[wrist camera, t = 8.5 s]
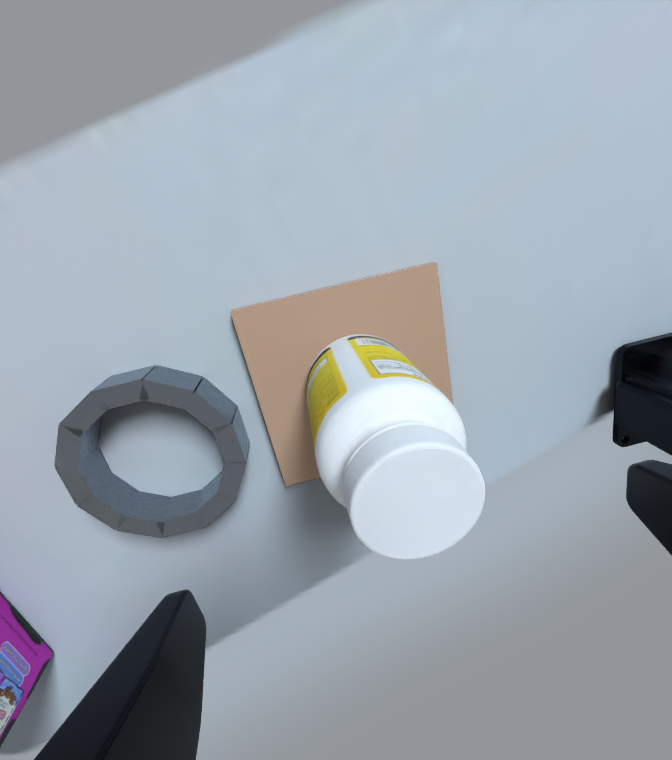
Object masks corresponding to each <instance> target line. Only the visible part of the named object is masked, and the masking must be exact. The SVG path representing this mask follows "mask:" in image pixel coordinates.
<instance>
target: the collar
mask: <svg viewBox="0 0 672 760" xmlns="http://www.w3.org/2000/svg"><path fill="white" fill-rule="evenodd" d="M144 400H145V401H150V402H154V403H158V404H163V405H167V406H172V407H176V408H181V409H184V410H186V411H187V412H188V413H189V414H191V415H192V416H193V417H194V418H196V419H197V420H198V421H199V422H201V423H202V424H203V425H204V426H206V427H207V428H208V429H209V430H210V431H212V432H213V433H214V436H215V439H216V441H217V444H218V447H219V449H220V452H221V454H222V457H223V460H224V462H225V464H224V468H223V471H222V472H221V473H220V474H219V475H218V476H217V477H215V478H214V479H213V480H212V481H211V482H210V483H209V484H208V485H207V486H206V487H204V488H203V489H202V490H199V491H195V492H191V493H187V494H183V495H179V496H175V497H167V496H161V495H156V494H150V493H144V492H139V491H137V490H136V489H134V488H133V487H132V486H130V485H129V484H127V483H126V482H124V481H123V480H121V479H120V478H118V477H117V476H116V475H114V474H113V473H112V472H111V470H110V468H109V466H108V465H107V463H106V461H105V459H104V457H103V455H102V453H101V451H100V449H99V447H98V440H99V433H100V425H101V418H102V415H103V414H104V413H105V412H106V411H107V410H108V409H112V408H116V407H120V406H124V405H128V404H132V403H136V402H140V401H144ZM236 406H237V405H236V404H234V403H233V402H232V401H231V400H230V399H229V398H227V397H226V396H225V395H224V394H223V393H222V392H220V391H219V390H218V389H217V388H216V387H215V386H213V385H212V384H211V383H210V382H209V381H208V380H207V379H205V378H203V379H202V376H198V375H194V374H190V373H186V372H182V371H178V370H174V369H170V368H165V367H161V366H156V365H155V366H151V367H147V368H143V369H139V370H135V371H130V372H126V373H122V374H118V375H114V376H111V377H109V378H108V379H107V380H105V381H104V382H103V383H101V384H100V385H99V386H97V387H96V388H95V389H94V390H92V391H91V392H90V393H89V394H88V395H87V396H86V397H85V398H84V399H83V400H82V401H81V402H80V403H79V404H78V405H77V406H76V407H75V408H74V409H73V410H72V411H71V412H70V413H69V415H68V416H67V417H66V418H65V419H64V420H63V421H62V422H61V423H60V425H59V428H58V437H57V447H56V456H55V466H56V467H55V469H56V471H57V472H58V474H59V476H60V478H61V479H62V481H63V483H64V485H65V486H66V488H67V490H68V492H69V493H70V495H71V497H72V499H73V500H74V502H75V504H76V505H77V504H78V505H77V506H78V507H80V508H81V509H83V510H84V511H86V512H87V513H89V514H91V515H92V516H94V517H95V518H97V519H99V520H100V521H102V522H103V523H105V524H106V525H108V526H110V527H111V528H113V529H114V530H116V529H117V531H122V532H128V533H134V534H141V535H147V536H154V537H160V538H162V536H163V538H164V537H168V536H172V535H176V534H180V533H184V532H188V531H192V530H195V529H199V528H203V527H205V526H207V525H208V524H209V523H211V522H212V521H213V520H214V519H215V518H216V517H217V516H218V515H220V514H221V513H222V512H223V511H224V510H225V509H226V508H228V507H229V506H230V505H231V504H232V503H233V502H234V501H235V500H236V498H237V494H238V491H239V487H240V483H241V480H242V476H243V473H244V469H245V465H246V461H247V456H248V450H249V445H250V442H249V439H248V436H247V433H246V430H245V427H244V424H243V421H242V418H241V415H240V412H239V410H238V407H236Z"/></svg>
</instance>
